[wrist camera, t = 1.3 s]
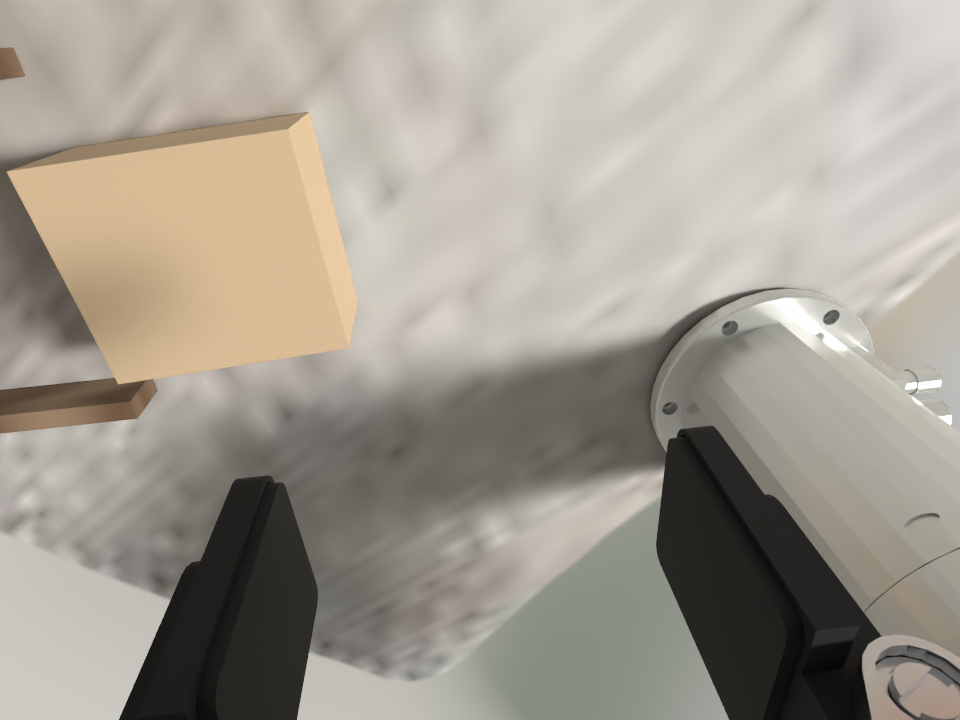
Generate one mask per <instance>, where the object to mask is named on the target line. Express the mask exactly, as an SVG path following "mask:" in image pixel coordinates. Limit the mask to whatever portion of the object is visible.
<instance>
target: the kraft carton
mask: <svg viewBox="0 0 960 720" xmlns="http://www.w3.org/2000/svg"><path fill="white" fill-rule="evenodd" d="M6 172H7V174H8V176H9V177H10V179H11V181H12V183H13V185H14V187H15V189H16V191H17V193H18V195H19V196H20V198H21V200H22V202H23V204H24V206H25V208H26V210H27V212H28V214H29V215H30V217H31V219H32V221H33V223H34V225H35V227H36V229H37V231H38V233H39V234H40V236H41V238H42V240H43V242H44V244H45V246H46V248H47V250H48V252H49V253H50V255H51V257H52V259H53V261H54V263H55V265H56V267H57V269H58V271H59V272H60V274H61V276H62V278H63V280H64V282H65V284H66V286H67V288H68V290H69V291H70V293H71V295H72V297H73V299H74V301H75V303H76V305H77V307H78V309H79V311H80V312H81V314H82V316H83V318H84V320H85V322H86V324H87V326H88V328H89V330H90V331H91V333H92V335H93V337H94V339H95V341H96V343H97V345H98V347H99V349H100V350H101V352H102V354H103V356H104V358H105V360H106V362H107V364H108V366H109V368H110V369H111V371H112V373H113V375H114V377H115V379H116V381H117V383H118V384H124V383H130V382H137V381H143V380H149V379H156V378H162V377H169V376H175V375H181V374H188V373H194V372H200V371H207V370H213V369H219V368H226V367H232V366H239V365H245V364H251V363H258V362H264V361H270V360H277V359H283V358H290V357H296V356H302V355H309V354H315V353H321V352H328V351H334V350H340V349H347V348H349V345H350V340H351V336H352V331H353V326H354V322H355V317H356V312H357V308H358V300H357V296H356V292H355V288H354V284H353V280H352V276H351V272H350V268H349V265H348V261H347V257H346V253H345V249H344V245H343V241H342V237H341V233H340V230H339V226H338V222H337V218H336V214H335V210H334V206H333V202H332V198H331V195H330V191H329V187H328V183H327V179H326V175H325V171H324V167H323V163H322V160H321V156H320V152H319V148H318V144H317V140H316V136H315V132H314V128H313V125H312V121H311V117H310V113H309V112H307V113H300V114H293V115H287V116H280V117H273V118H267V119H260V120H253V121H247V122H240V123H233V124H227V125H220V126H213V127H207V128H200V129H193V130H187V131H180V132H173V133H167V134H160V135H153V136H147V137H140V138H133V139H127V140H120V141H113V142H107V143H100V144H93V145H87V146H80V147H74V148H71V149H69V150H66V151H63V152H60V153H57V154H54V155H52V156H49V157H46V158H43V159H40V160H37V161H35V162H32V163H29V164H26V165H23V166H20V167H18V168H15V169H12V170H9V171H6Z"/></svg>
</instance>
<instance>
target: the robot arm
mask: <svg viewBox="0 0 960 720" xmlns="http://www.w3.org/2000/svg"><path fill="white" fill-rule="evenodd" d="M940 387H941V377H940V374H939V373H938V372H937V370H936V369H934V368H931V367H925V368H916V369H908V370H904V371H900V372H896V371H895V370H893V369H892V368H891V367H889V366H888V365H886V364H885V363H884V362H882V361H881V360H880V359H878V358H877V357H876V356H874V345H873V343H872V340H871V337H870V334H869V331H868V330H867V328H866V327H865V325H864V324H863V323H862V321H861V320H860V318H859V317H858V316H857V315H855V314H854V313H853V312H852V311H850V310H849V309H848V308H846V307H845V306H844V305H842V304H840V303H839V302H837V301H835V300H834V299H832V298H830V297H829V296H826V295H823V294H820V293H817V292H813V291H810V290H801V289H778V290H769V291H763V292H760V293H756V294H753V295H749V296H745V297H742V298H740V299H738V300H736V301H734V302H731V303H729V304H727V305H725V306H723V307H721V308H719V309H718V310H716V311H715V312H713V313H711V314H710V315H708V316H707V317H705V318H704V319H702V320H701V321H700V322H699V323H697V324H696V325H695V326H694V327H693V328H692V329H691V330H689V331H688V332H687V333H686V334H685V335H684V336H683V337H682V338H681V340H680V341H679V342H678V343H677V344H676V345H675V347H674V348H673V349H672V350H671V351H670V353H669V355H668V356H667V358H666V360H665V361H664V363H663V365H662V366H661V368H660V370H659V372H658V375H657V378H656V381H655V383H654V386H653V390H652V397H651V404H650V408H651V420H652V424H653V427H654V430H655V433H656V436H657V438H658V439H659V441H660V443H661V444H662V446H663V448H664V450H665V451H666V452H667V454H666V463H665V471H664V480H663V489H662V497H661V507H660V516H659V524H658V532H657V541H656V547H657V554H658V558H659V562H660V564H661V566H662V569H663V571H664V573H665V576H666V578H667V580H668V582H669V585H670V587H671V589H672V591H673V594H674V596H675V598H676V600H677V603H678V605H679V607H680V609H681V612H682V614H683V616H684V618H685V621H686V623H687V625H688V627H689V630H690V632H691V634H692V636H693V639H694V641H695V643H696V645H697V647H698V650H699V652H700V654H701V656H702V659H703V661H704V663H705V666H706V668H707V670H708V673H709V675H710V677H711V679H712V682H713V684H714V686H715V688H716V690H717V693H718V695H719V697H720V700H721V702H722V704H723V706H724V709H725V711H726V713H727V715H728V717H729V720H960V432H958V431H957V430H956V429H955V428H953V427H952V426H951V417H952V415H951V413H950V410H949V407H948V406H947V405H946V404H945V403H944V402H943V401H942V400H939V399H937V398H934V399H924V400H916V399H914V397H912V396H911V395H913V394H921V393H930V392H935V391H938V389H939V388H940ZM317 600H318V593H317V585H316V581H315V578H314V575H313V572H312V569H311V566H310V562H309V559H308V556H307V553H306V550H305V547H304V544H303V541H302V537H301V534H300V531H299V528H298V525H297V522H296V519H295V515H294V512H293V509H292V506H291V503H290V500H289V497H288V493H287V490H286V487H285V485H284V484H283V483H275V482H274V480H273V478H272V477H271V476H259V477H250V478H241V479H236V480H235V481H234V482H233V484H232V486H231V488H230V491H229V493H228V496H227V498H226V500H225V503H224V505H223V508H222V510H221V513H220V515H219V517H218V520H217V522H216V525H215V527H214V530H213V532H212V535H211V537H210V539H209V542H208V544H207V547H206V549H205V552H204V554H203V557H202V559H201V561H198V562H192V563H191V564H190V565H188V566H187V567H186V569H185V570H184V572H183V574H182V576H181V578H180V580H179V582H178V585H177V587H176V589H175V592H174V594H173V596H172V599H171V601H170V603H169V606H168V608H167V610H166V613H165V615H164V617H163V620H162V622H161V624H160V626H159V629H158V631H157V633H156V636H155V638H154V640H153V643H152V645H151V647H150V649H149V652H148V654H147V656H146V659H145V661H144V663H143V666H142V668H141V670H140V673H139V675H138V677H137V680H136V682H135V684H134V686H133V689H132V691H131V693H130V696H129V698H128V700H127V702H126V705H125V707H124V710H123V712H122V714H121V716H120V719H119V720H297V715H298V709H299V703H300V698H301V693H302V687H303V682H304V676H305V669H306V664H307V659H308V653H309V648H310V642H311V637H312V631H313V625H314V620H315V614H316V609H317Z"/></svg>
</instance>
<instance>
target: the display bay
mask: <svg viewBox="0 0 960 720" xmlns="http://www.w3.org/2000/svg"><path fill="white" fill-rule="evenodd" d="M22 76H25V75H24V73H23V70H22V68H21V65H20V63H19V61H18V58H17V56H16V53H15V51H14V49H13V48H0V79H7V78H14V77H22ZM156 392H157V389H156V386H155V384H154V382H153V379H149V380H143V381H137V382H130V383H124V384H118V383H117V381H116V379H105V380H96V381H86V382H77V383H67V384H58V385H49V386H39V387H30V388H20V389H11V390H1V391H0V433H9V432H18V431H27V430H37V429H46V428H55V427H64V426H73V425H83V424H92V423H101V422H110V421H119V420H128V419H138V417H139V416H140V414H141V413H142V412H143V410H144V409H145V407H146V406H147V405H148V403H149V402H150V400H151V399H152V398H153V396H154V395H155V393H156Z"/></svg>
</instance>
